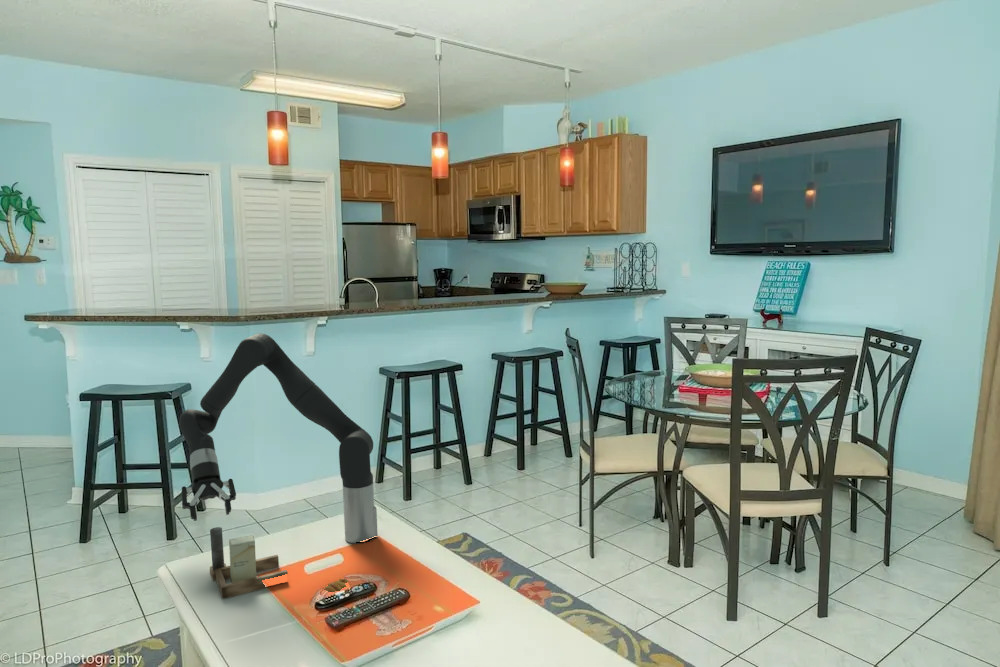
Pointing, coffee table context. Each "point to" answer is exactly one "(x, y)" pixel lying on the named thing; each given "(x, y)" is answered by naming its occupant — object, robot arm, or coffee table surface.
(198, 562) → the coffee table surface
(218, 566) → the brown frame
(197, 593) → the coffee table surface
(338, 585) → the pastry
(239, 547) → the skincare box
